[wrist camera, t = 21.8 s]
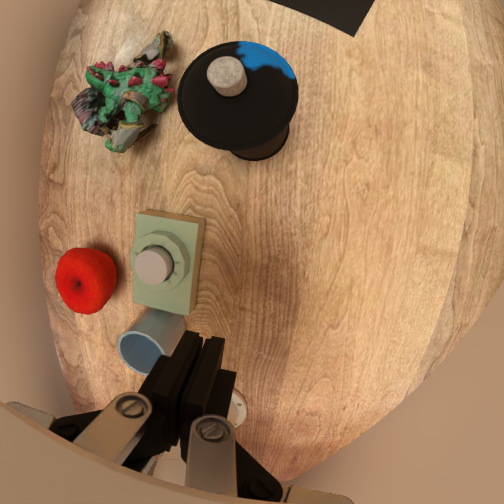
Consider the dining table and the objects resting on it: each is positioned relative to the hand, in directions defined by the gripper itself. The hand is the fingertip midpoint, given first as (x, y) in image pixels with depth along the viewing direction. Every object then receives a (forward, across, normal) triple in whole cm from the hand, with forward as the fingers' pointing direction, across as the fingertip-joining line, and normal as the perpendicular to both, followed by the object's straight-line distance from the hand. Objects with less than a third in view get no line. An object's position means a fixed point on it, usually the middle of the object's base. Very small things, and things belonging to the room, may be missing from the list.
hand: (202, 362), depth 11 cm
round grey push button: (+20, +10, +4) cm, 23 cm away
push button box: (+25, +10, +5) cm, 27 cm away
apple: (+25, +21, +9) cm, 34 cm away
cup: (+25, +10, +15) cm, 31 cm away
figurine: (+25, +17, -16) cm, 34 cm away
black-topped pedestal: (+25, 0, -46) cm, 52 cm away
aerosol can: (+25, +2, -13) cm, 29 cm away
